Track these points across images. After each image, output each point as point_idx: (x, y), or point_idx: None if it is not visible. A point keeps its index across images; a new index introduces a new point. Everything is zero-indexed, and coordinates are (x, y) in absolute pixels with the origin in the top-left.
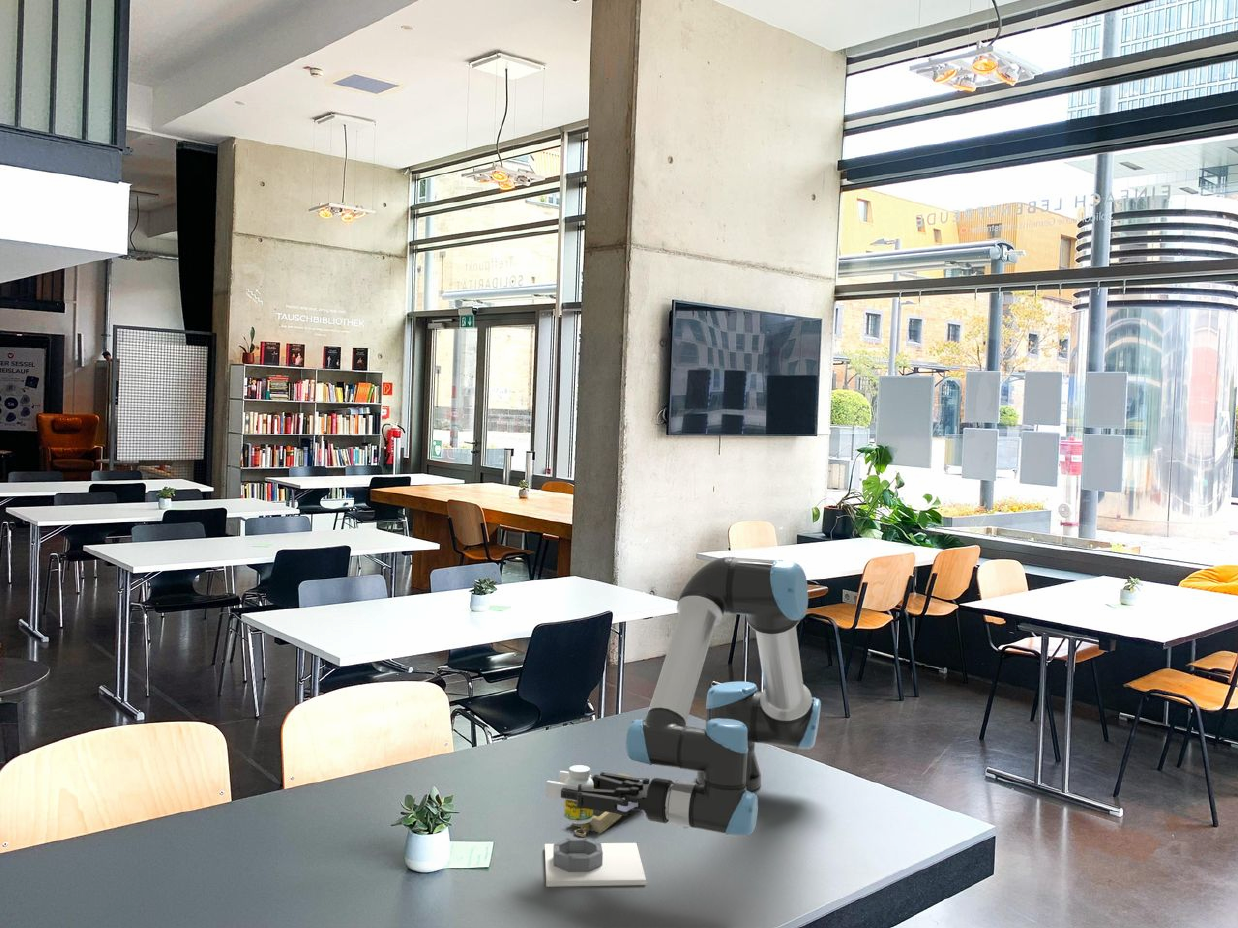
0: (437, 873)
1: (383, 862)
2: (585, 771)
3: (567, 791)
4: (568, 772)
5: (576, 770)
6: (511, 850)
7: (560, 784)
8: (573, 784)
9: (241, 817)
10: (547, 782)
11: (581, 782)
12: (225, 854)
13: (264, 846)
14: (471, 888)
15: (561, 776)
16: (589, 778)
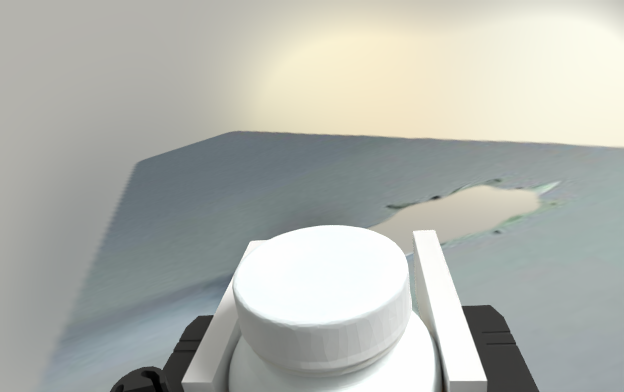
0: None
1: None
2: (255, 314)
3: (174, 350)
4: (430, 258)
5: (265, 265)
6: None
7: (228, 289)
8: (239, 339)
9: (335, 147)
10: (249, 247)
11: (258, 368)
12: (253, 169)
13: (278, 175)
14: None
15: (414, 259)
16: (370, 389)
